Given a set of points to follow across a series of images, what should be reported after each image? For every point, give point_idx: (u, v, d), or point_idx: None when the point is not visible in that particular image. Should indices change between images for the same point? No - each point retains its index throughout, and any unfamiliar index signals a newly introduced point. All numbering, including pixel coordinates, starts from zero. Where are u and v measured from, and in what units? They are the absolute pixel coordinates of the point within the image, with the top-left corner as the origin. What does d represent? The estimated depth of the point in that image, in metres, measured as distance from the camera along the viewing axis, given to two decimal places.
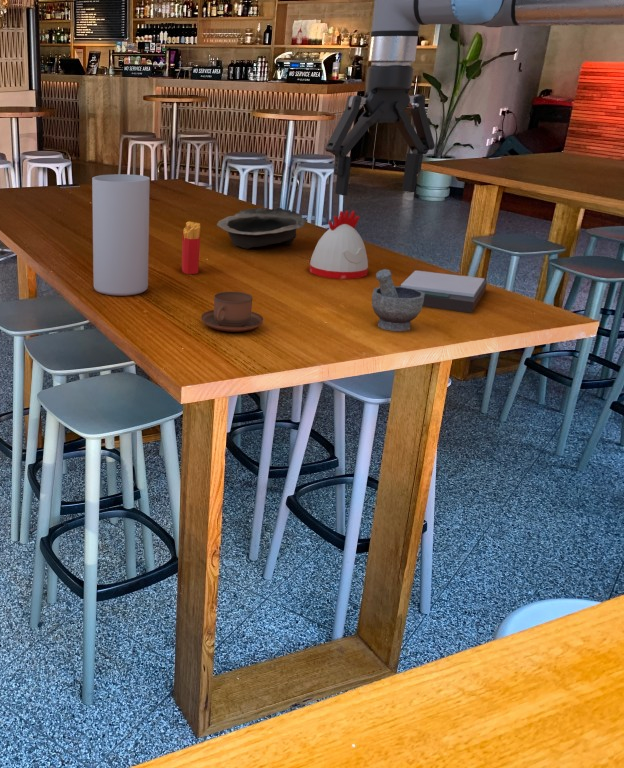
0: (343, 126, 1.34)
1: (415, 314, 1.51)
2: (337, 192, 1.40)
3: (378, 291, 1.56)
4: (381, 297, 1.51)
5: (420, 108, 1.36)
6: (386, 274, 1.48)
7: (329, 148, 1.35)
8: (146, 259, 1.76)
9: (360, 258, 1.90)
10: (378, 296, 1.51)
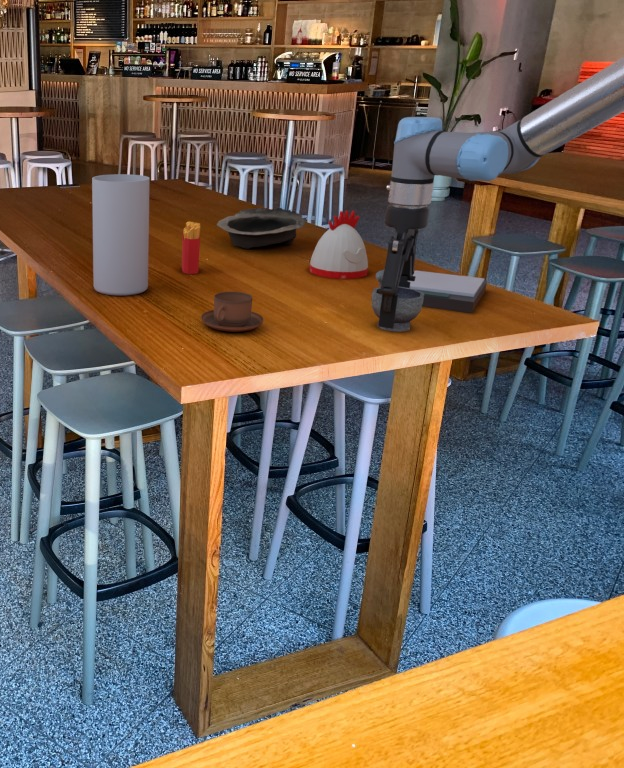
0: (396, 270, 1.44)
1: (415, 314, 1.51)
2: (382, 325, 1.51)
3: None
4: (381, 297, 1.50)
5: (415, 240, 1.53)
6: None
7: (388, 291, 1.45)
8: (146, 259, 1.76)
9: (360, 258, 1.90)
10: (378, 296, 1.51)
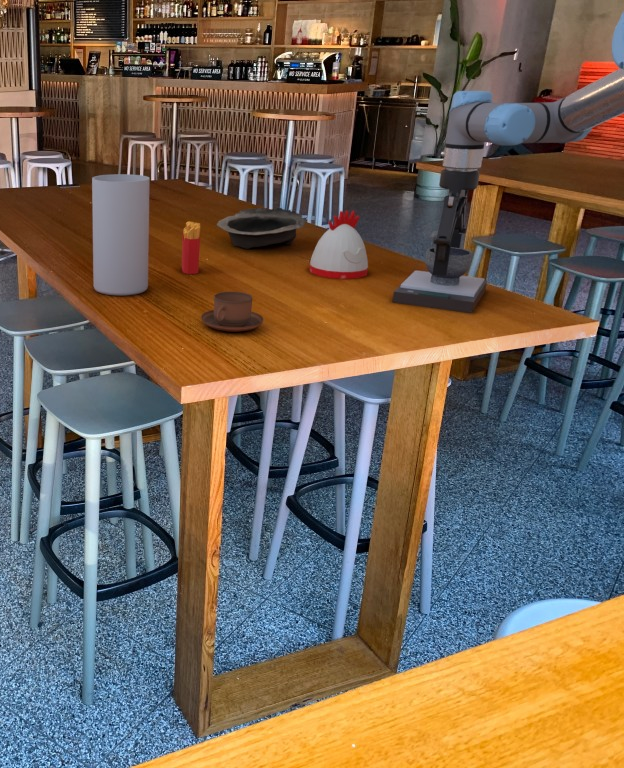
0: (451, 222, 1.62)
1: (465, 270, 1.70)
2: (436, 273, 1.68)
3: (430, 251, 1.75)
4: None
5: None
6: None
7: (443, 240, 1.63)
8: (146, 259, 1.76)
9: (360, 258, 1.90)
10: (432, 254, 1.71)
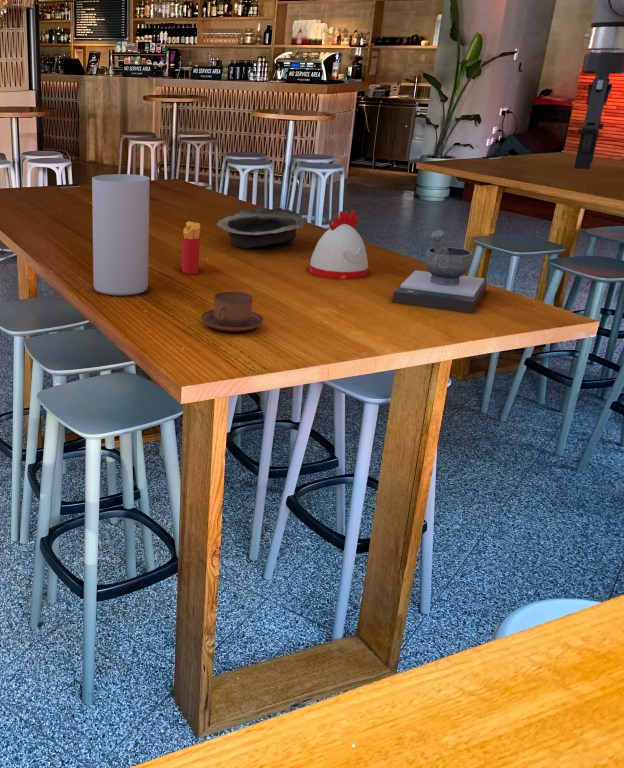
0: (600, 107, 1.49)
1: (465, 270, 1.70)
2: (578, 167, 1.55)
3: (430, 251, 1.75)
4: (435, 255, 1.70)
5: None
6: (440, 234, 1.67)
7: (591, 127, 1.49)
8: (146, 259, 1.76)
9: (360, 258, 1.90)
10: (432, 254, 1.71)
